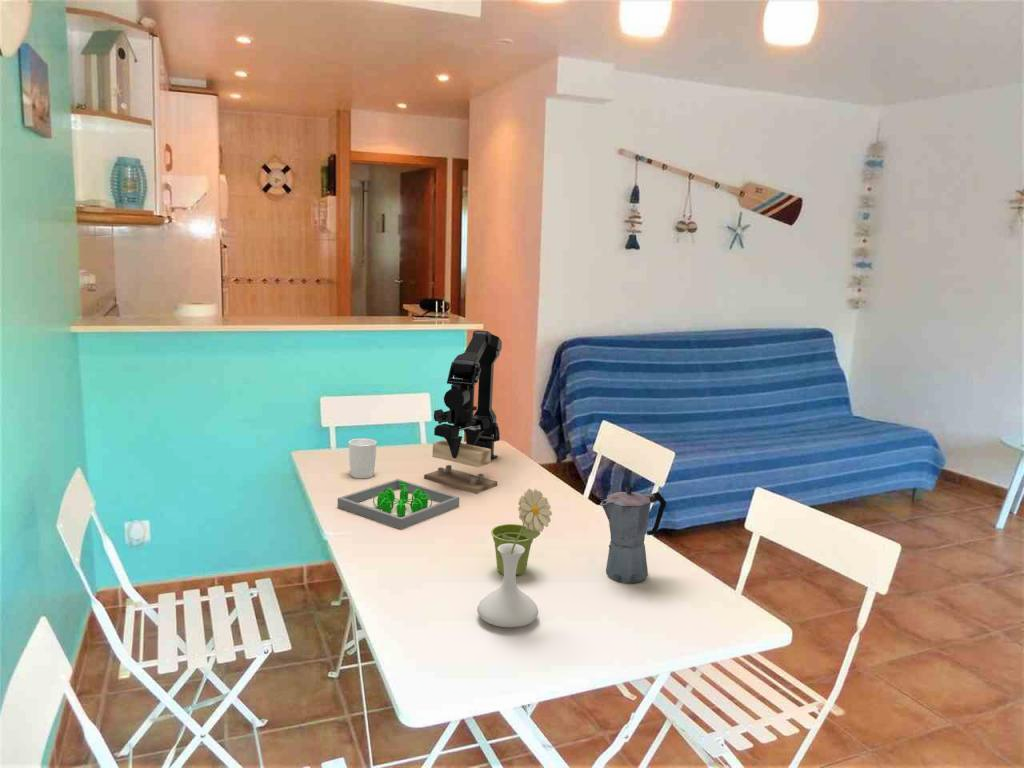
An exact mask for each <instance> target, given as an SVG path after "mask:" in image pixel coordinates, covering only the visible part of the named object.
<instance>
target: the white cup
mask: <svg viewBox="0 0 1024 768" xmlns="http://www.w3.org/2000/svg"><path fill="white" fill-rule="evenodd" d="M377 443H378V442H377V440H374V439H371V438H364V437H363V438H353V439H350V440H349V441H348V459H349V475H350V476H351V478H354V479H369V478H372V477H374V476H375V467H376V457H377Z"/></svg>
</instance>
